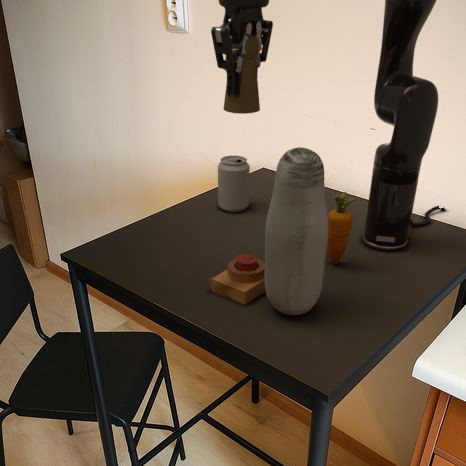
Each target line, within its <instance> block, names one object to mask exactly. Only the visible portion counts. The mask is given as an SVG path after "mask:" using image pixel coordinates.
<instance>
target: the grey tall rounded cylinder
mask: <svg viewBox="0 0 466 466" xmlns="http://www.w3.org/2000/svg"><path fill="white" fill-rule="evenodd" d="M273 185H274V186H273V191H272V196H271V200H270V204H269V207H268V212H267V216H266V221H265V231H264V233H265V234H264V264H265V294H266V298H267V300H268V302H269V303H270V304H271V306H272V307H273V308H274V309H275V310H276V311H278V312H280V313H281V314H283V315H287V316H299V315H304V314H306V313H307V312H309V311H311V310H312V309H313V308H314V306H315V305H316V304H317V302H318V300H319V299H320V296H321V294H322V289H323V284H324V276H325V265H326V257H327V252H328V249H327V242H328V214H329V213H328V209H327V208H328V207H327V202H326V201H327V200H326V189H325V188H326V187H325V166H324V162H323V160H322V158H321V156H320V155H319V154H318V152H316V151H314V150H312V149H310V148H307V147H294V148H291V149H288V150H287V151H285V152H284V154H282V156H281V157H280V159H279V160H278V163H277V165H276V170H275V179H274V184H273Z"/></svg>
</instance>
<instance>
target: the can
mask: <svg viewBox="0 0 466 466" xmlns="http://www.w3.org/2000/svg"><path fill="white" fill-rule="evenodd" d="M247 161H248V159H247V157H245V156H242V155H234V154H233V155H232V154H231V155H226V156H223V157H221V158H220V162H219V163H218V164H217V204H218V207H219V208H221V210H223V211H225V212H227V213H241V212H243V211H245V210H246V209H247V208H248V207H249V205H250V171H251V169H250V168H251V167H250V166H251V165H250V164H249V163H248V162H247Z"/></svg>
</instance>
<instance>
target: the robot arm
mask: <svg viewBox="0 0 466 466" xmlns="http://www.w3.org/2000/svg"><path fill="white" fill-rule="evenodd" d="M436 3H437V0H384V8H383V9H384V10H383V11H384V12H383V22H382V35H381V46H380V53H379V61H378V66H377V67H378V68H377V74H376V81H375V87H374V95H373V96H374V97H373V107H374V111H375V114H376V116H377V118H378V119H379V120H380V121H381V122H383V123H385V124H388V125H390V126H392V127H393V130H392V135H391V139H390V141H389V142H385V143H382V144H379V145H378V146H377V147H376V148H375V151H374V157H373V166H372V173H371V181H370V188H369V194H368V203H367V209H366V217H365V224H364V231H363V235H362V242H363V243H364V244H365V245H366V246H368V247H369V248H372V249H375V250H379V251H386V252H387V251H389V252H390V251H398V250H402V249H404V248H405V247H406V246H407V245H408V238H409V232H410V227H413V228H414V227H415V228H417V227H418V228H419V227H422V226H426V225H428V224H430V223H431V217H430V216H429V215H430V214H432V213H433V212H435V211H438V210H440V211H441V212H446V208H445V207H444V206H443V208H441V209H440V208H439V206H440V205H436V206H433V207H431V208H430V209H428V210H427V211H426V212H425V213H424V218H425V220H423V221H420V222H414V221H413V218H412V216H413V210H414V204H415V200H416V194H417V188H418V183H419V178H420V172H421V166H422V163H423V158H424V156H425V155H426V152H427V150H428V148H429V145H430V143H431V139H432V134H433V130H434V126H435V122H436V118H437V113H438V107H439V92H438V89H437V85H436V84H435V83H434V82H432V81H431V80H429V79H426V78H422V77H420V76H419V77H418V76H416V75H415V76H414V59H415V58H414V57H415V49H416V46H417V42H418V38H419V36H420V33H421V31H422V29H423V28H424V26H425V24H426V22H427V20H428V18H429V16H431V13H432V11H433V9H434V7H435V5H436ZM218 4H219V6H221V7H223V8H224V16H223V20H222V24H221V25H220V26H212V28H211V29H210V34H211V39H212V44H213V50H214V55H215V60H216V65H217V68H218V69H222V70H224V71H225V72H226V84H227V95H228V97H230V95H235V98H238V97H239V95H240V84H241V73H240V72H241V68H242V61H243V57H244V56H245V55H246V53H245V46H246V42H247V40H248V38H249V36H250V35H251V34H252V35H255V36H256V37H257V38H258V40H259V44H260V48H259V53H258V55H257V56H256V69H257V78H258V77H259V76H258V73H259V72H258V71H259V69H260V67H261V64H262V63H265V62H266V61H267V59H268V53H269V49H270V43H271V38H272V33H273V28H274V27H273V26H274V22H273V20H267V19H264V15H263V10H262V9H263V8H266V7H268V6H269V4H270V0H218ZM231 43H236V44H240V43H241V45H240V48H239V49H232V44H231ZM224 55H225V58H224ZM233 55H236V62H234V56H233Z"/></svg>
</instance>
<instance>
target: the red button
mask: <svg viewBox="0 0 466 466" xmlns="http://www.w3.org/2000/svg"><path fill="white" fill-rule="evenodd" d="M257 259H258V257H257V256H256V255H255V254H250V253H244V254H239V255H237V256H236V269H238V270H240V271H253V270H256V269H257Z"/></svg>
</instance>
